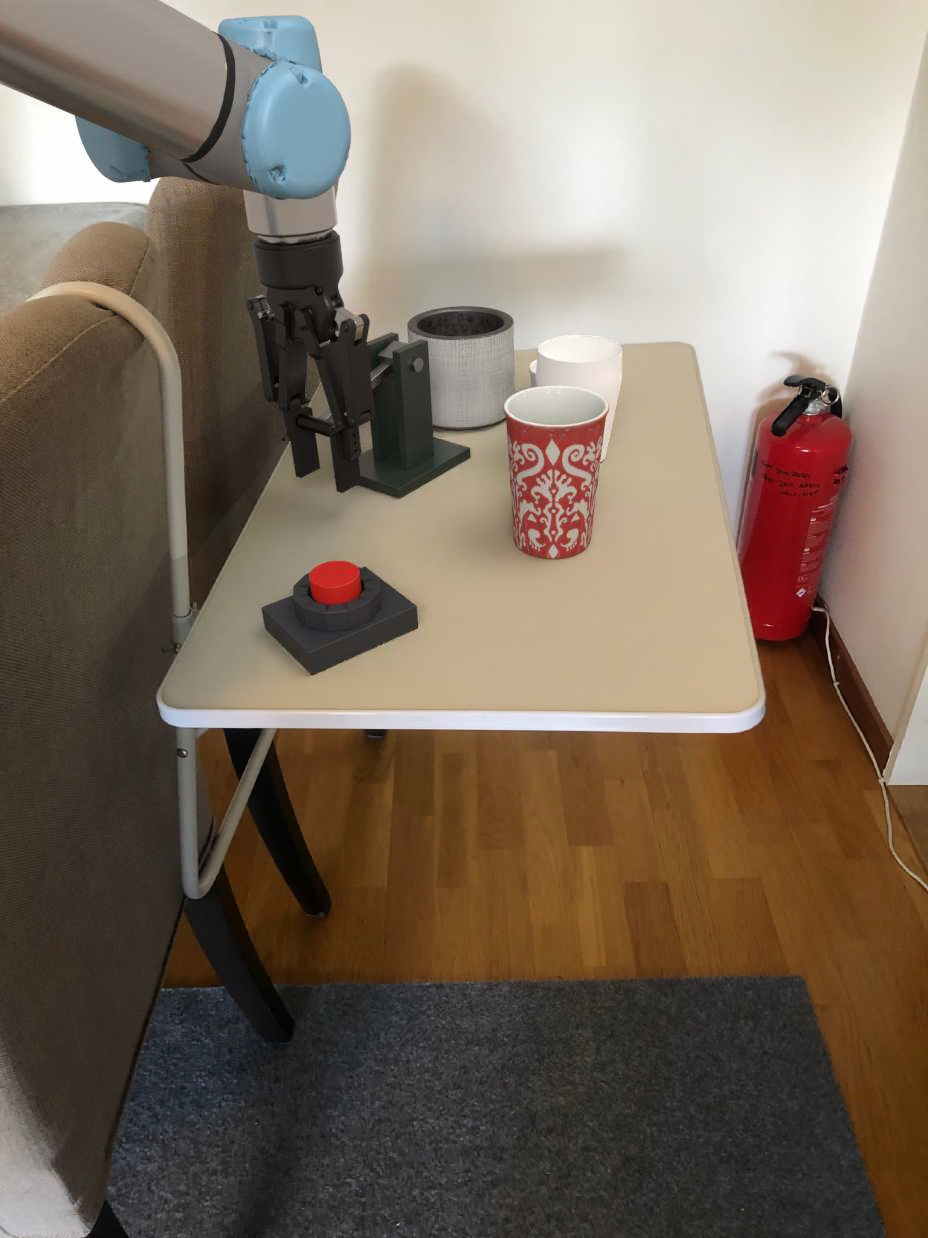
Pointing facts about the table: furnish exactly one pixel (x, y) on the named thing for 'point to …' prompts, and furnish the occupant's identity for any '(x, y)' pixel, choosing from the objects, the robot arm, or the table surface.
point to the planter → (467, 364)
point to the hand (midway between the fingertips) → (328, 479)
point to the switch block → (338, 622)
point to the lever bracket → (405, 425)
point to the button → (335, 582)
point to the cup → (583, 369)
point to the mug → (554, 467)
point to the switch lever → (326, 420)
